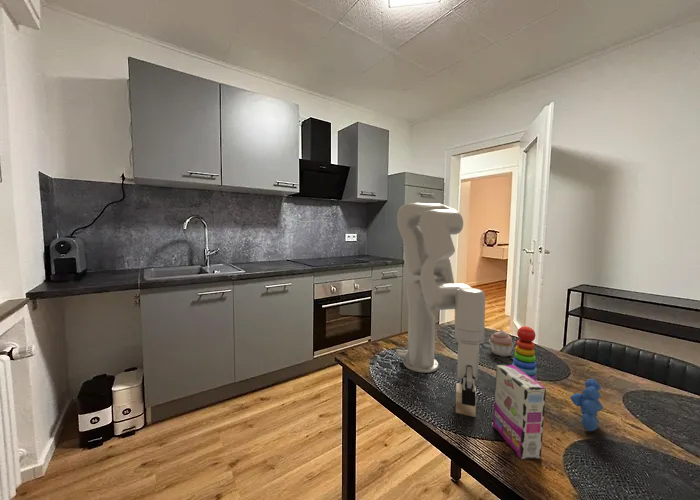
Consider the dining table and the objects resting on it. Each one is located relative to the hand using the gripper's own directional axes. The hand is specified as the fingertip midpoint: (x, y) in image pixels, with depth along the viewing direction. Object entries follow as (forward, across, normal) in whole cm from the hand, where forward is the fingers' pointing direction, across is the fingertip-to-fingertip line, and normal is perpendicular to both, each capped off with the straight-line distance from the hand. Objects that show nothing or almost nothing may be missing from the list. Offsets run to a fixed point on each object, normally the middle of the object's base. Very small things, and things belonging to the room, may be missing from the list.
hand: (467, 395), depth 80 cm
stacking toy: (+5, -23, +17) cm, 29 cm away
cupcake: (+4, -45, +13) cm, 47 cm away
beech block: (+5, -1, -1) cm, 5 cm away
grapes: (+5, -6, +28) cm, 29 cm away
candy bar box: (+5, +8, +10) cm, 14 cm away
